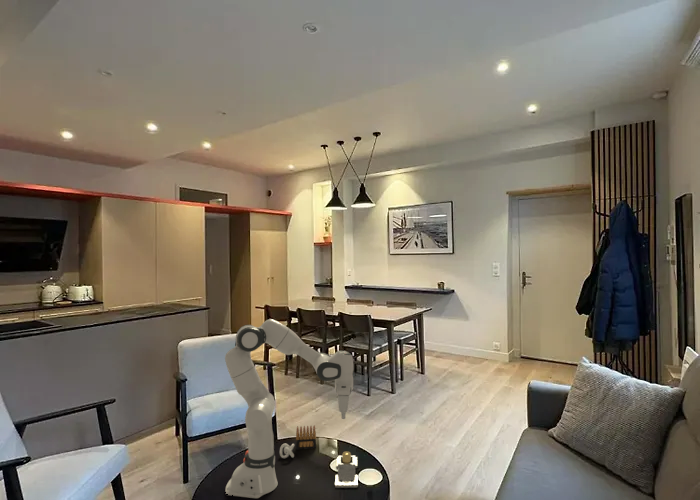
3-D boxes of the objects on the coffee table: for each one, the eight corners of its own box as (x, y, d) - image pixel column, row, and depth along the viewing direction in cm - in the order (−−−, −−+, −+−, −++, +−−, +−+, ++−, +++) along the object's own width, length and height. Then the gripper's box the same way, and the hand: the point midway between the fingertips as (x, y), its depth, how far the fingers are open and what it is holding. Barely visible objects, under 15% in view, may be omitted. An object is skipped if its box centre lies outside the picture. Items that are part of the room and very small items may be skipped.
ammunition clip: (316, 446, 213) (315, 424, 213) (316, 448, 211) (316, 425, 211) (296, 448, 211) (295, 425, 212) (295, 449, 210) (295, 427, 210)
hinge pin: (342, 475, 185) (342, 455, 185) (342, 470, 189) (342, 451, 189) (351, 475, 185) (350, 455, 185) (351, 470, 189) (350, 451, 189)
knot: (286, 451, 208) (286, 439, 208) (299, 454, 205) (299, 443, 205) (277, 457, 202) (277, 446, 202) (290, 461, 198) (290, 449, 198)
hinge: (335, 487, 175) (334, 474, 175) (337, 459, 199) (337, 447, 199) (357, 487, 175) (357, 473, 175) (357, 459, 199) (356, 447, 199)
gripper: (338, 378, 200) (338, 405, 200) (336, 392, 180) (336, 423, 180) (350, 378, 200) (350, 406, 200) (350, 392, 180) (350, 423, 180)
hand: (343, 414), depth 190 cm, fingers open, 8 cm apart
